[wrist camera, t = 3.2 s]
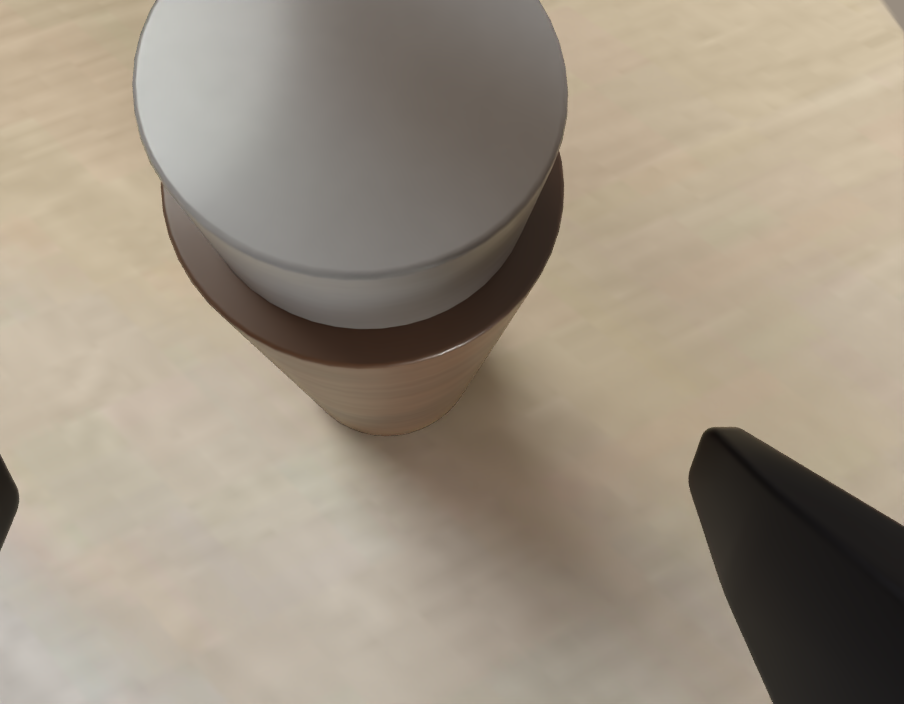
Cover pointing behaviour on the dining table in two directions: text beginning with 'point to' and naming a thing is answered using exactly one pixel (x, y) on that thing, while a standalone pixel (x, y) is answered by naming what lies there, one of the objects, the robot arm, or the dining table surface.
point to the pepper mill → (359, 183)
